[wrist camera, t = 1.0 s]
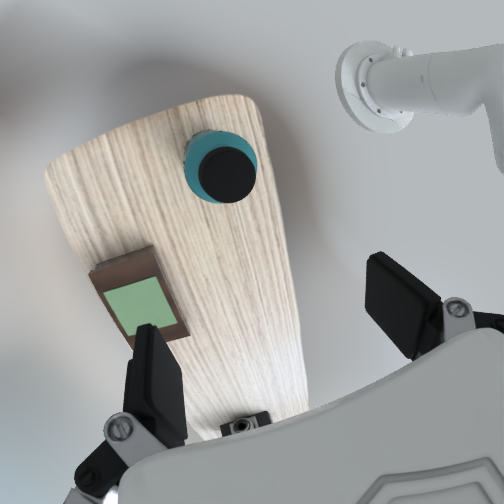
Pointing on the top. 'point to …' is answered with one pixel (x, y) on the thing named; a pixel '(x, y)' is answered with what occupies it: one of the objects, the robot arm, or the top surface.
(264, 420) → the camera
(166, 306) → the shelf
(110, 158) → the top surface
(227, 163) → the beverage bottle
